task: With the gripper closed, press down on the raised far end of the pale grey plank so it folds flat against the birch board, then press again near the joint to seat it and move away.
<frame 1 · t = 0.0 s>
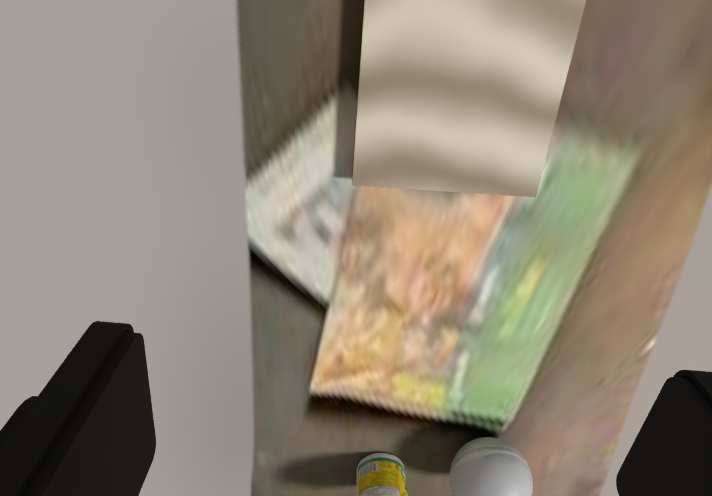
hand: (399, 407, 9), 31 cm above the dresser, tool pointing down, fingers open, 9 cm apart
bath bomb: (481, 445, 55), on the dresser
supplement bottle: (380, 466, 57), on the dresser
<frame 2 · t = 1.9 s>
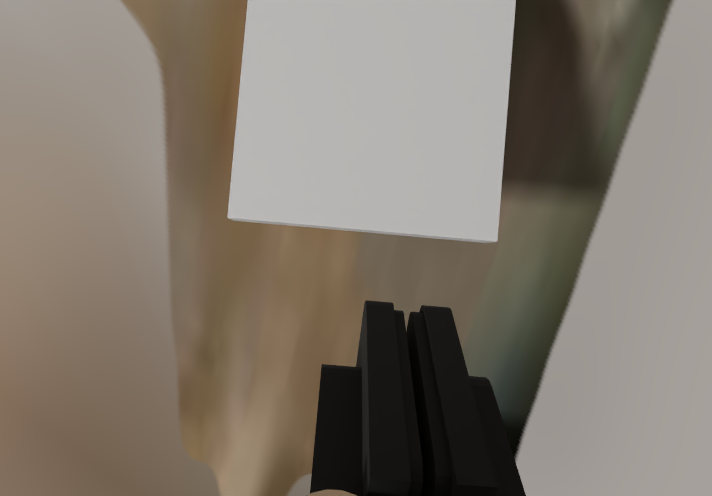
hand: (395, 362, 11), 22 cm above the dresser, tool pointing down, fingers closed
grey plank: (377, 58, 24), point 5 cm above the dresser, hinge at 30.0°
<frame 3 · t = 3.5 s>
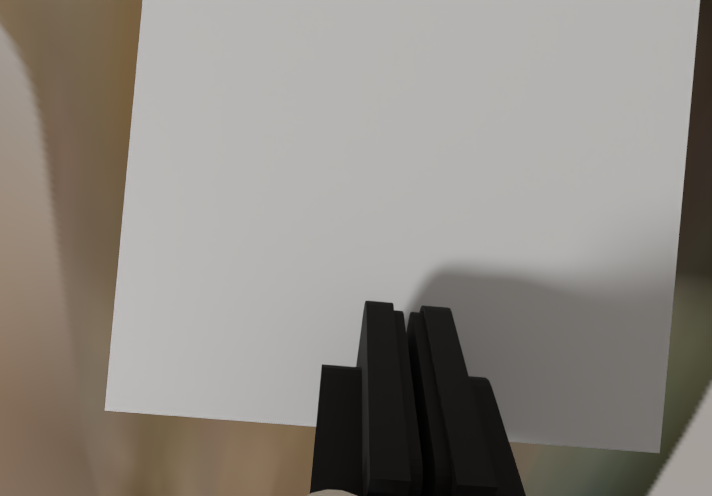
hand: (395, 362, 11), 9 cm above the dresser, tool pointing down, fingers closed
grey plank: (416, 73, 12), point 5 cm above the dresser, hinge at 28.2°, touching gripper
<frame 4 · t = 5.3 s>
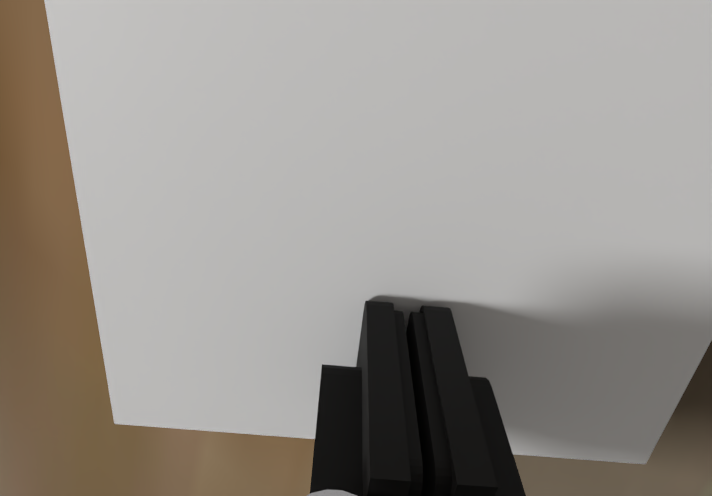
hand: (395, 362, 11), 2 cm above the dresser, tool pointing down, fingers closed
grey plank: (445, 68, 9), point 1 cm above the dresser, hinge at -0.1°, touching gripper
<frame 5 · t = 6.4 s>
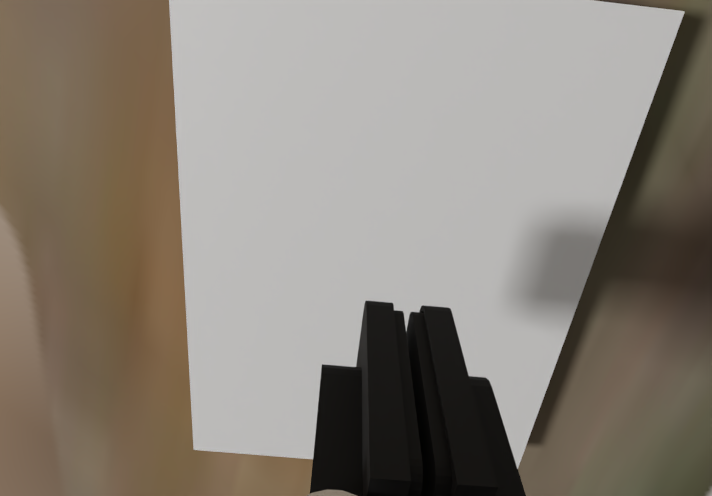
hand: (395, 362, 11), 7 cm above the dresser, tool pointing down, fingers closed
grey plank: (384, 266, 16), point 1 cm above the dresser, hinge at -0.1°
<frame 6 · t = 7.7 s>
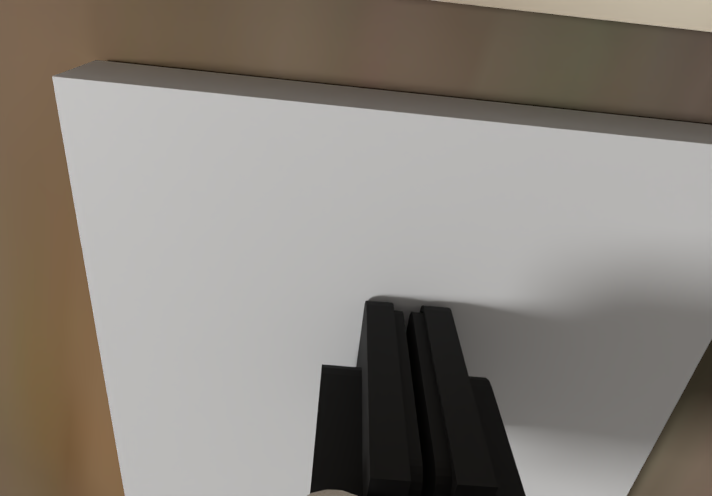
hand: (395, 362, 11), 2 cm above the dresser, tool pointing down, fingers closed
grey plank: (379, 436, 13), point 1 cm above the dresser, hinge at -0.1°, touching gripper
birch board: (439, 47, 9), on the dresser
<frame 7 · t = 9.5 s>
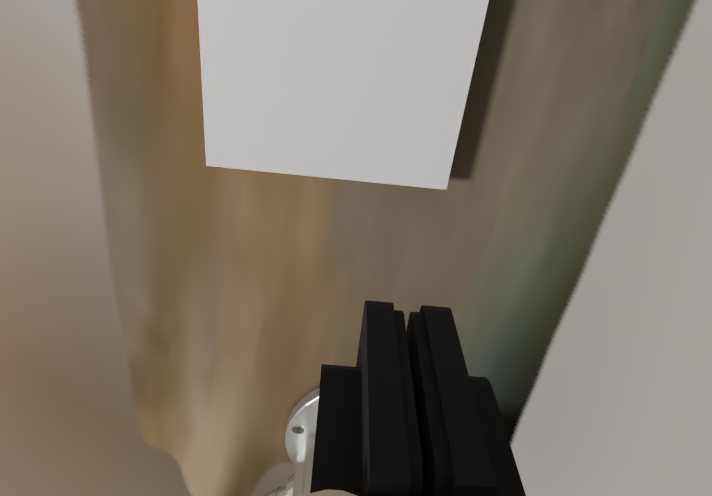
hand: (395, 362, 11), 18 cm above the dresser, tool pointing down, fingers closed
grey plank: (343, 0, 22), point 1 cm above the dresser, hinge at -0.1°
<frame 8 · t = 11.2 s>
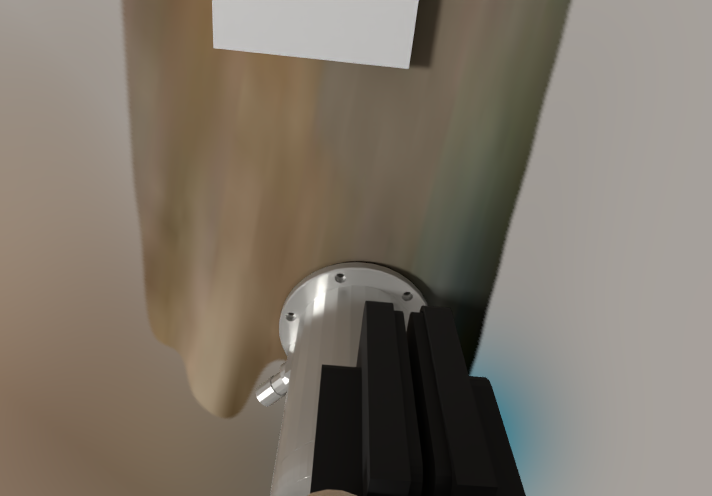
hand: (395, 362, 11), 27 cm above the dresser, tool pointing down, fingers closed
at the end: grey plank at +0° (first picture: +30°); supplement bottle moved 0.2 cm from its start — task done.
